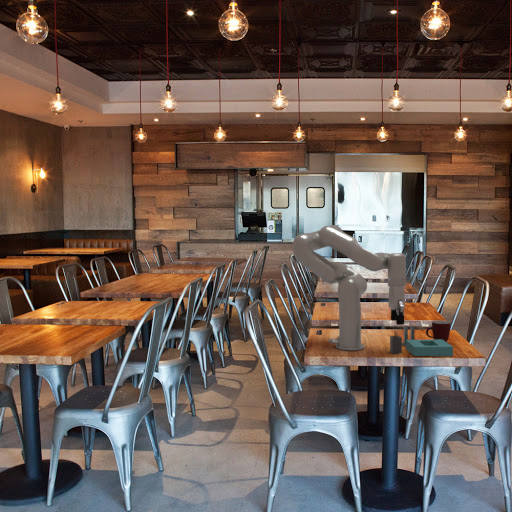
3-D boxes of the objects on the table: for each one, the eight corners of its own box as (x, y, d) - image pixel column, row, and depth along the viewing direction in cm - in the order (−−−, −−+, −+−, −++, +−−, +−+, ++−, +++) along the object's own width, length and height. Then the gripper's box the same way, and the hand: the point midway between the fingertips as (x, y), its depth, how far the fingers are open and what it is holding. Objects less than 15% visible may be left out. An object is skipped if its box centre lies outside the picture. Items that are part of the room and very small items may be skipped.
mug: (426, 345, 261) (426, 323, 260) (425, 341, 269) (425, 320, 268) (451, 346, 259) (451, 324, 258) (449, 342, 266) (449, 320, 266)
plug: (392, 354, 246) (392, 332, 245) (390, 351, 250) (390, 330, 249) (401, 353, 246) (401, 332, 245) (399, 351, 250) (399, 330, 249)
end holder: (414, 356, 241) (414, 347, 240) (405, 348, 255) (405, 339, 254) (452, 356, 241) (453, 346, 240) (442, 348, 255) (442, 339, 254)
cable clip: (403, 346, 259) (403, 326, 258) (401, 344, 263) (401, 325, 262) (416, 346, 259) (417, 326, 258) (414, 344, 263) (414, 324, 262)
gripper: (383, 280, 254) (384, 319, 255) (392, 285, 237) (393, 326, 238) (400, 280, 254) (401, 318, 255) (411, 284, 237) (411, 325, 238)
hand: (397, 322), depth 246 cm, fingers open, 9 cm apart
